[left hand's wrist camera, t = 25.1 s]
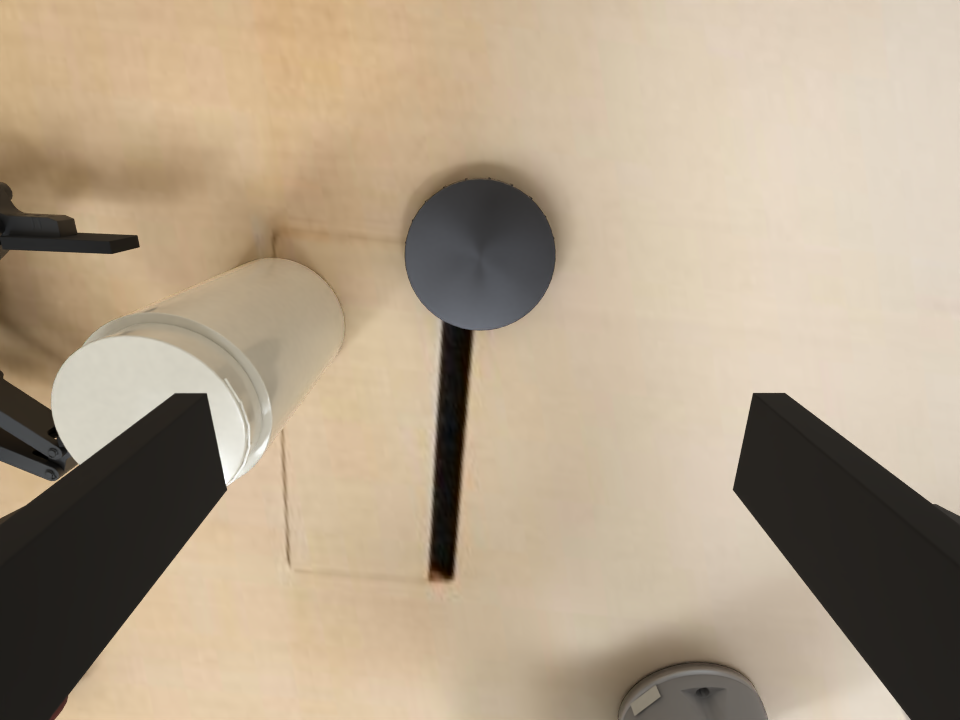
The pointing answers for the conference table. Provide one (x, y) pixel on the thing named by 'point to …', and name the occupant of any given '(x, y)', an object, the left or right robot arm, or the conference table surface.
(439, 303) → the lid
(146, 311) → the jar
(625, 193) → the conference table surface
